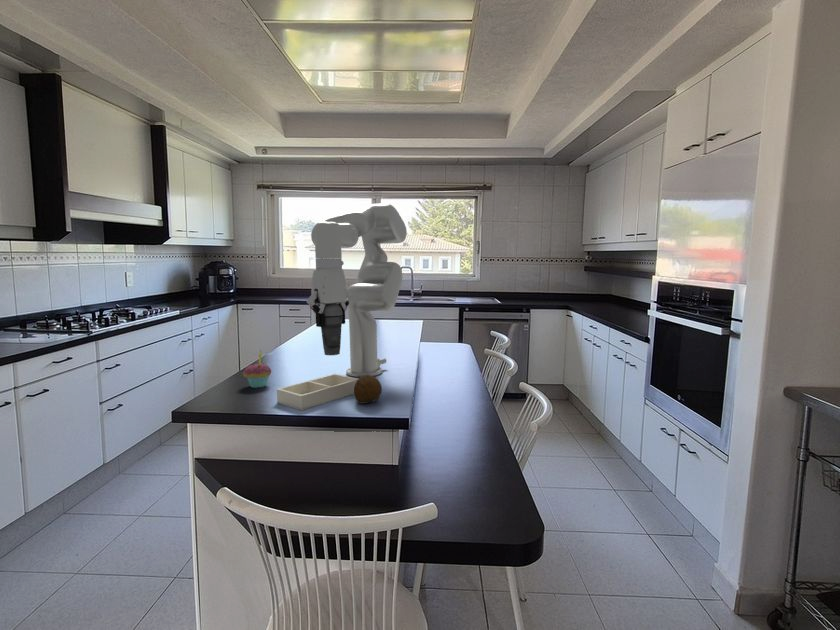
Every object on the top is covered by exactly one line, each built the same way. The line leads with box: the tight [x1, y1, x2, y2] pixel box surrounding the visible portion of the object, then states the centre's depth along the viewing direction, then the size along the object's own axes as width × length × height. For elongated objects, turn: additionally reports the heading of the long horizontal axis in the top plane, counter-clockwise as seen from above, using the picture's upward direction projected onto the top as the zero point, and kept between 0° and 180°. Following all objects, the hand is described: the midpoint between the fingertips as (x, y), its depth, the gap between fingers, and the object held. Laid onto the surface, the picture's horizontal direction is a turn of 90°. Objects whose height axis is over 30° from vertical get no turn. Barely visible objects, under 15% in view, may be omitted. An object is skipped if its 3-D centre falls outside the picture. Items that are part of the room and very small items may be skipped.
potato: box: [353, 375, 383, 404], centre depth 134 cm, size 8×12×8 cm, turn 19°
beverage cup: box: [320, 303, 343, 356], centre depth 140 cm, size 7×7×20 cm
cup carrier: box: [276, 373, 359, 411], centre depth 139 cm, size 22×11×4 cm, turn 141°
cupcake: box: [242, 349, 272, 389], centre depth 152 cm, size 9×8×12 cm
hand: (330, 324), depth 141 cm, fingers closed on beverage cup, 7 cm apart
